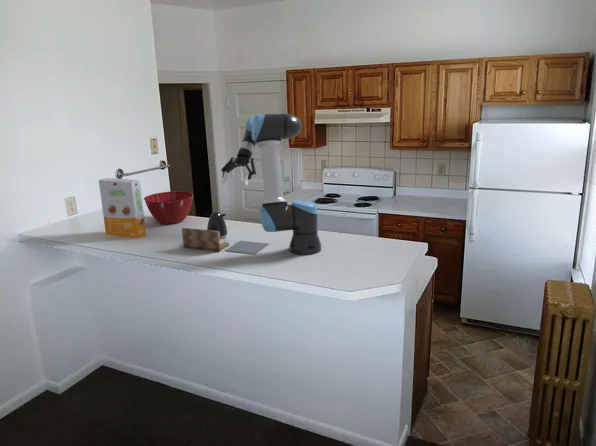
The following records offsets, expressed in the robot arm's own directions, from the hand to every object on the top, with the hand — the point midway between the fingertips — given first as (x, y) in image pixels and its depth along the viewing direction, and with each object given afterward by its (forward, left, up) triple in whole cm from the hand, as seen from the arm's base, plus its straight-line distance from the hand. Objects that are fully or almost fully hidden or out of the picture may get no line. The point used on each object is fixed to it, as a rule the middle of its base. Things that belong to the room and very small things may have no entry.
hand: (233, 183), depth 246 cm
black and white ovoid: (+2, +17, -27) cm, 32 cm away
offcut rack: (+2, +28, -26) cm, 39 cm away
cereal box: (+55, +23, -27) cm, 66 cm away
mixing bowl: (+48, -8, -27) cm, 56 cm away
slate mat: (-19, +23, -26) cm, 40 cm away
